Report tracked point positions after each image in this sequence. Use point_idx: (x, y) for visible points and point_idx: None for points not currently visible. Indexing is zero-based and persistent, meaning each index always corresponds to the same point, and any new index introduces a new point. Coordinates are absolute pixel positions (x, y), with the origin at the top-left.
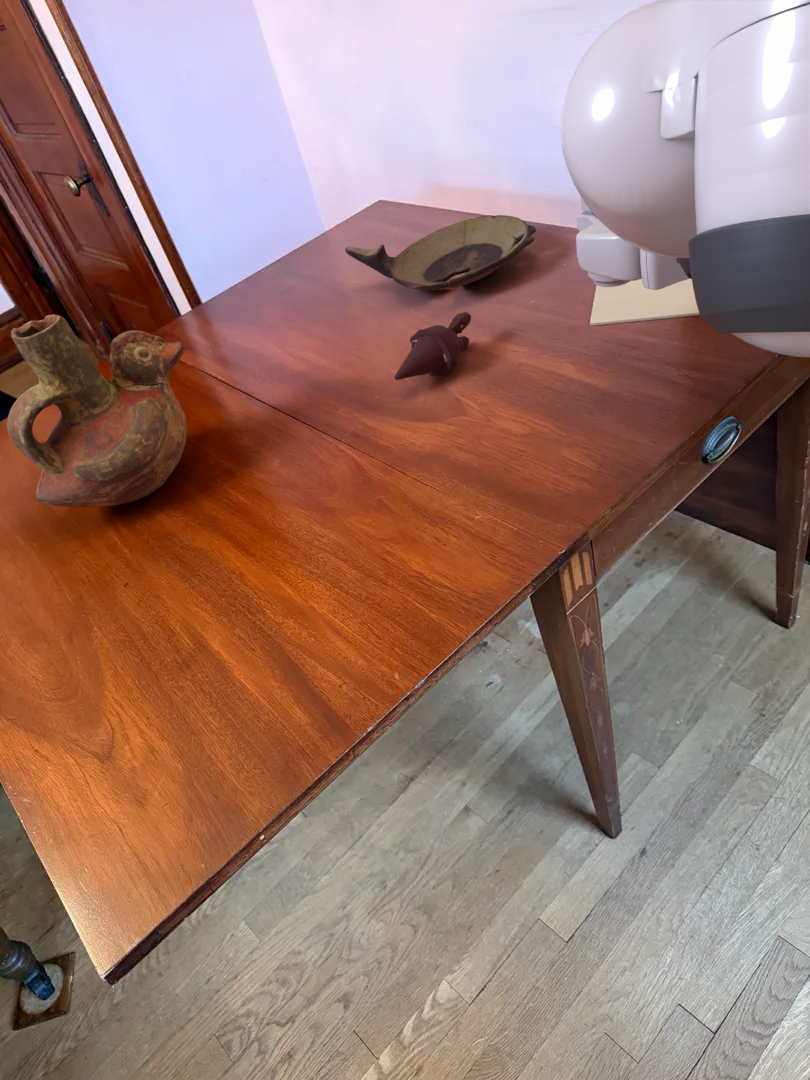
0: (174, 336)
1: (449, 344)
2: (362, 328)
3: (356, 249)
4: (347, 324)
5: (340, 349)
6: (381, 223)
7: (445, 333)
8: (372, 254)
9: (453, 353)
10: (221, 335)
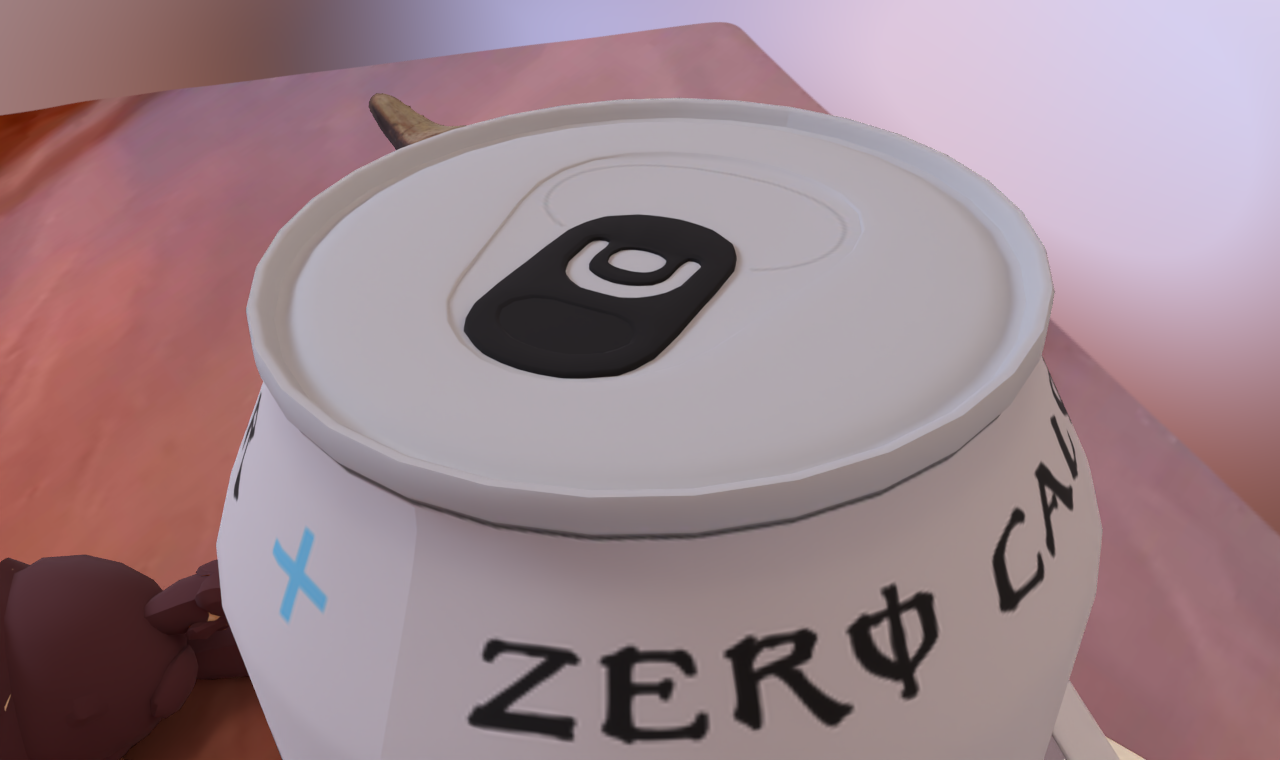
0: (24, 132)
1: (34, 706)
2: (239, 349)
3: (395, 110)
4: (239, 311)
5: (107, 390)
6: (665, 66)
7: (47, 648)
8: (412, 143)
9: (42, 748)
10: (63, 179)
